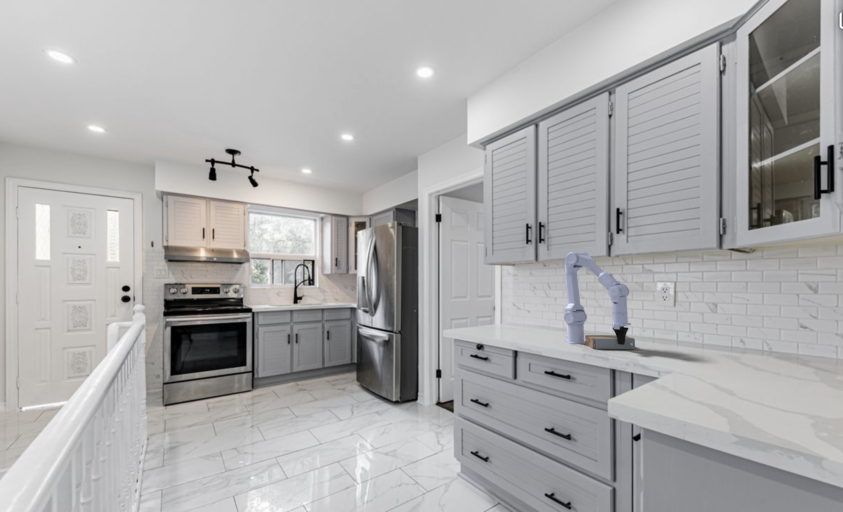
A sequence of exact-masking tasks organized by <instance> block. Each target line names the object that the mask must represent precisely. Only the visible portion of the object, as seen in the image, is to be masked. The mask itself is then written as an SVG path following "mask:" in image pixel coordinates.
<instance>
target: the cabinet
mask: <svg viewBox="0 0 843 512" xmlns="http://www.w3.org/2000/svg"><path fill="white" fill-rule="evenodd" d="M595 338H617V336H616V334H597V335H596V334H590V335H589V334H584V341H585V342H586V344H585V346H586V347H588V348H591V349H593V350H596V349H595V348H594V344H595V343H594V342H593V339H595ZM625 338H632V337H631V336H627V335H626V337H625Z"/></svg>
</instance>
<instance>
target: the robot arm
mask: <svg viewBox="0 0 843 512" xmlns="http://www.w3.org/2000/svg"><path fill="white" fill-rule="evenodd" d="M564 259H565V264H564V277H565V287H566V288H565V289H566V298H567V304H566V306H565V307H564V314H563V320H564V322H565V323H566V329H565V330H566V339H564V341H565V342H567V343H568V344H570V345H586V340H585V329H584V328H585V327H584V325H585V323H586V321H587V318H588V317H587V313H586V311H585V307H584V306H583V305H582V303H581V301H580V300H581V299H580V298H581V297H580V289H579V282H578V281H579V280H578V271H579V270H580V269H581V268H583V267H585V268H587V270H589V271H591V273H593V274H594V275H595V276H596V277H597V279H598V280H597V281H598V283H600V284H601V286H603V287H604V288H605V289H606V290H607V293H608V295H609V297H610V301H611V311H612V325H613V327H612V330H613V332H614V333H615V334H614V335H616V336H617V341H618V344H620V345H624V344H625V337H626V336H627V334H628V331H629V327H626V326H632V323H631V322H629V318H628V300H627V299H628V296H629V294H630V289H629V287H628V286H627V285H626V284H624V283H621V282H620V281H619V280H617V279H616V278H615V277H614V276H613V274H612V273H611V272H607V271H604V270H603V269H602V268H601V267H600V266H599V265H598V264H597V262H596V261H594V260H593V258H592V256H591V254H590V255H589V253H587V252H586V251H581V252H579V251H578V252H577V251H576V252H575V251H570V252H568V253H567V255H566V256H565V257H564Z"/></svg>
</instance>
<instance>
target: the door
mask: <svg viewBox="0 0 843 512" xmlns="http://www.w3.org/2000/svg"><path fill="white" fill-rule="evenodd" d="M593 342H594V343H595V344H594V348H595V349H594V350H636V340H635V338H634V337H631V338H625V344H624V345H620V344H618V341H617V338H595V339H593Z"/></svg>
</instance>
